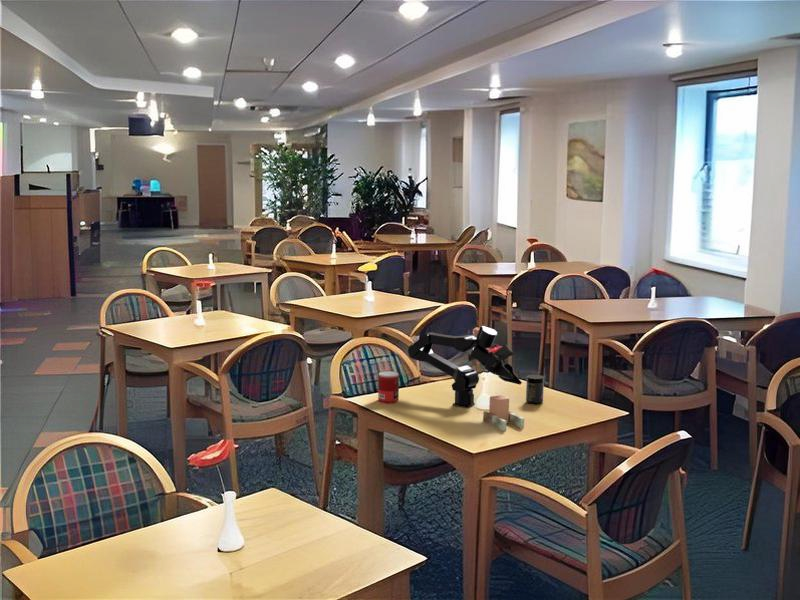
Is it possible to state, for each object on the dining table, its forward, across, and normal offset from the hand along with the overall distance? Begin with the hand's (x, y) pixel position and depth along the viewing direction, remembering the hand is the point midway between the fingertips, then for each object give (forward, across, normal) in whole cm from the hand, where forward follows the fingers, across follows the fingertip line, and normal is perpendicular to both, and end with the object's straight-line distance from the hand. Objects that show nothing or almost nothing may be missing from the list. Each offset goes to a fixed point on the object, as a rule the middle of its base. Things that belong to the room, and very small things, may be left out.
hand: (516, 381), depth 308 cm
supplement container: (0, +26, +4) cm, 27 cm away
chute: (+7, -4, +15) cm, 17 cm away
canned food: (-39, +1, +37) cm, 53 cm away
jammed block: (+5, -2, +16) cm, 17 cm away
